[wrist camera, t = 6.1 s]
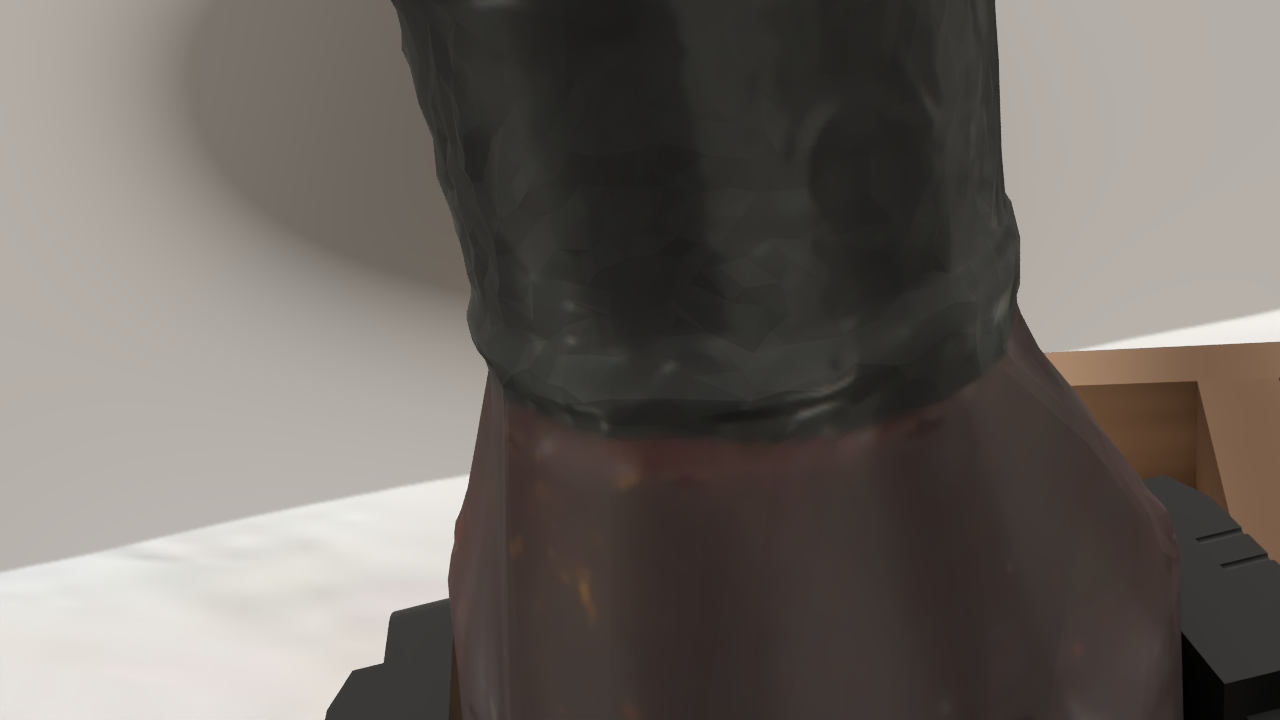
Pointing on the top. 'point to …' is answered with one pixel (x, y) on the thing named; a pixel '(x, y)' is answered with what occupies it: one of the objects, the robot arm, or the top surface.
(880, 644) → the sauce bottle
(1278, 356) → the rack
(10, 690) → the top surface
